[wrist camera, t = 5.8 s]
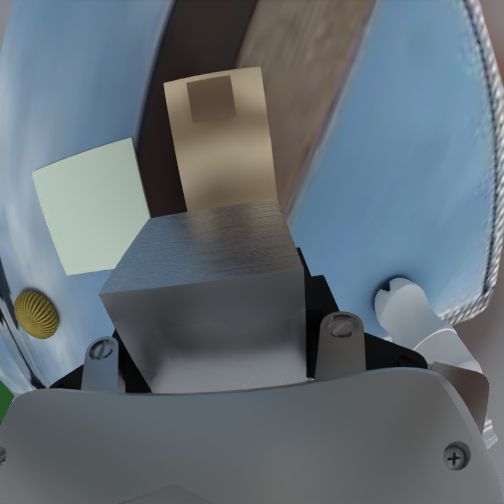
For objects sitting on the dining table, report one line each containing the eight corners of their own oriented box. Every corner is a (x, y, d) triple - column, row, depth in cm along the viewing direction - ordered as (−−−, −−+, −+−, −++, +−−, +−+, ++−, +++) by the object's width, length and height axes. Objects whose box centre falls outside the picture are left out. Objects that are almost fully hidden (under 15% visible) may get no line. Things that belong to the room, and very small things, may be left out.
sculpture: (1, 304, 30) (31, 297, 29) (14, 289, 33) (45, 281, 33) (28, 345, 33) (60, 343, 33) (39, 329, 37) (70, 325, 37)
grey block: (148, 218, 11) (98, 293, 6) (276, 198, 11) (303, 267, 6) (191, 346, 14) (179, 430, 10) (289, 335, 14) (305, 420, 10)
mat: (33, 171, 26) (31, 172, 26) (132, 136, 26) (131, 137, 25) (68, 273, 32) (67, 275, 32) (163, 259, 32) (162, 261, 32)
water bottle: (402, 315, 38) (481, 457, 16) (361, 314, 37) (436, 479, 15) (421, 274, 35) (527, 415, 13) (380, 269, 34) (488, 438, 12)
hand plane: (173, 86, 24) (149, 78, 17) (257, 72, 24) (264, 57, 16) (213, 283, 34) (207, 330, 27) (281, 274, 34) (292, 319, 26)
